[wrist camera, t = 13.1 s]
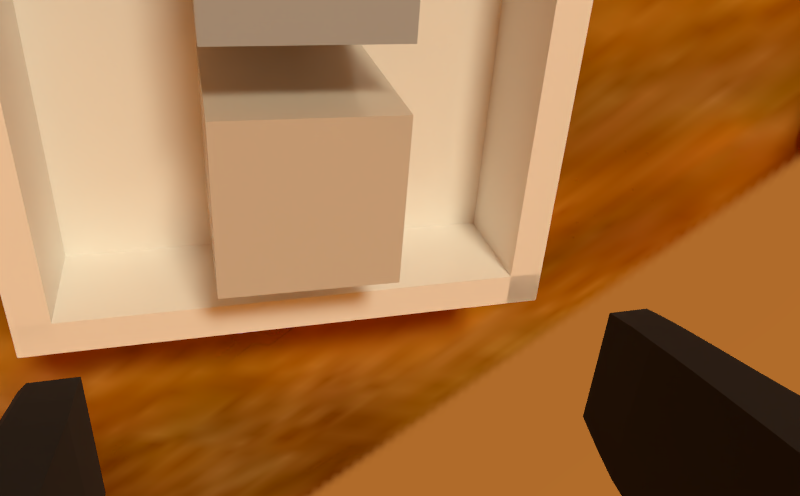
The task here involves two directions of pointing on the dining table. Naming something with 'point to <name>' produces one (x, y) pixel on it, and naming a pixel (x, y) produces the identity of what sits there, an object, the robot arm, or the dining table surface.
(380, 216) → the beige cuboid
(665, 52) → the dining table surface
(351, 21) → the grey rectangular prism
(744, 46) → the dining table surface
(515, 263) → the pale wooden open box
